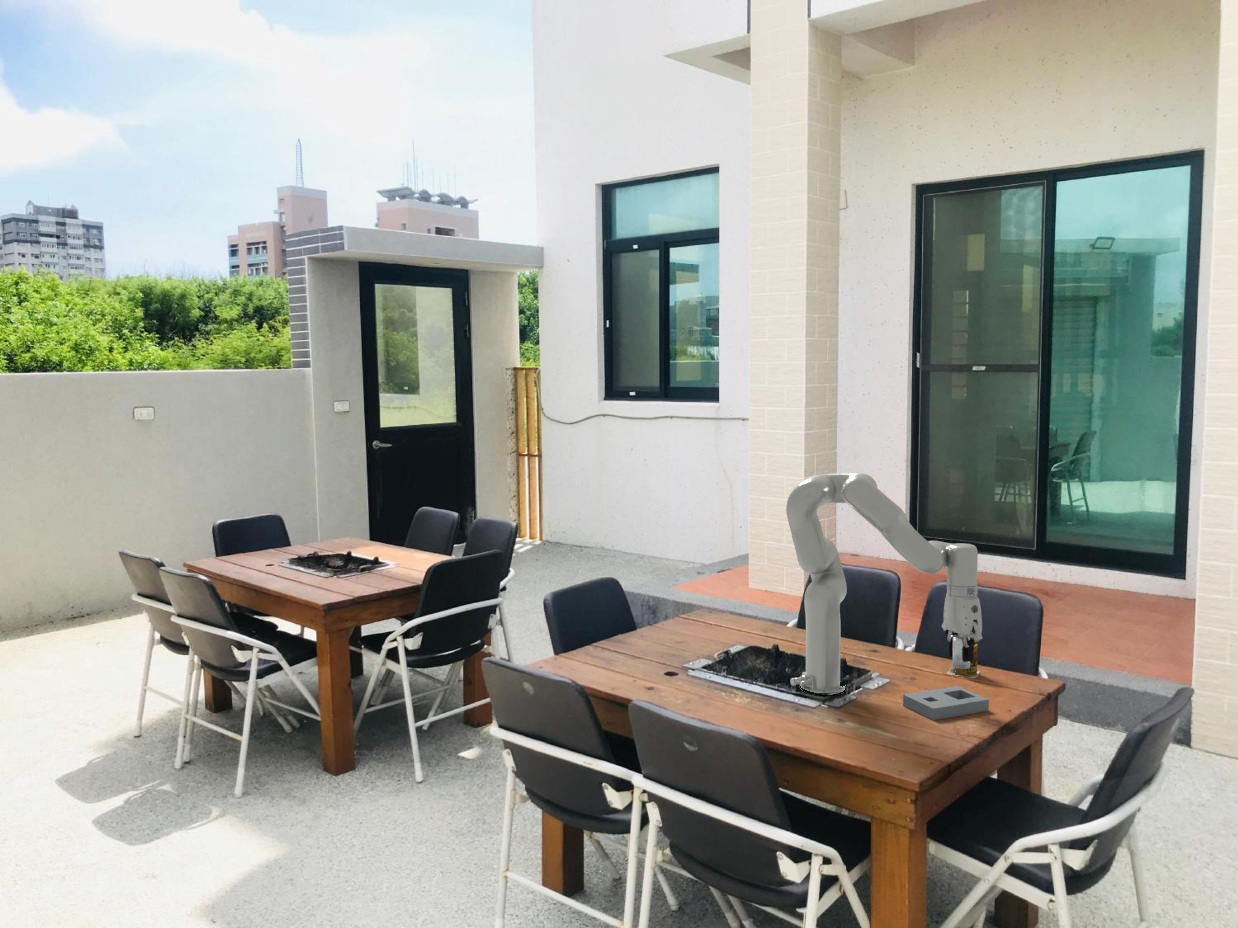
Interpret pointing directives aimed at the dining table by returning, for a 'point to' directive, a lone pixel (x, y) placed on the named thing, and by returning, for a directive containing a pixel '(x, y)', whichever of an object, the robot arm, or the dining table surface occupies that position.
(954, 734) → the dining table surface
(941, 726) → the dining table surface
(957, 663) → the cylinder
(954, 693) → the grey hole board
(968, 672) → the condiment
